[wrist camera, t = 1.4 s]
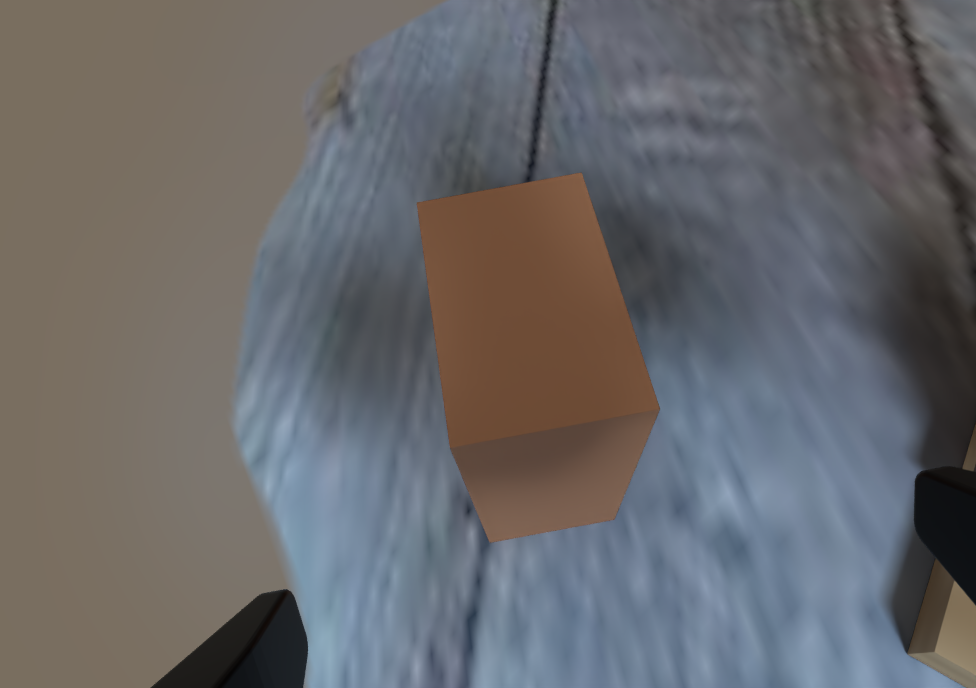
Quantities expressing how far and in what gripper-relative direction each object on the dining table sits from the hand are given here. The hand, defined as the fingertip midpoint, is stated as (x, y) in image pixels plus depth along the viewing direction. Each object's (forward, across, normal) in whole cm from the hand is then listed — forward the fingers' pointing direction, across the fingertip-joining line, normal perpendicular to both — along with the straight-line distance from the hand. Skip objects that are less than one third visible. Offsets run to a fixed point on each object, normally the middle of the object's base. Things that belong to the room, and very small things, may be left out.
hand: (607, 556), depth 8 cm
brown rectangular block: (+14, 0, +4) cm, 15 cm away
